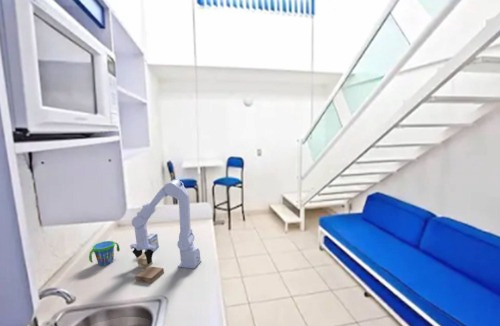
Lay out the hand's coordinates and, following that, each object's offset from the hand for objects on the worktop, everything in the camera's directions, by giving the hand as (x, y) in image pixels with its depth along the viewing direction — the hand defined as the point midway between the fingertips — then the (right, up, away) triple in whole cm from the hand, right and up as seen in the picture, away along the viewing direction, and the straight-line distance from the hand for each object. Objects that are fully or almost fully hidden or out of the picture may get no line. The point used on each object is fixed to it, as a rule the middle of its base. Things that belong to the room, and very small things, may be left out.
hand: (145, 262), depth 149 cm
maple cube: (0, -2, 0) cm, 2 cm away
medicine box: (-2, +1, +18) cm, 18 cm away
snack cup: (-23, -2, +6) cm, 24 cm away
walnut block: (+7, -3, -11) cm, 14 cm away
